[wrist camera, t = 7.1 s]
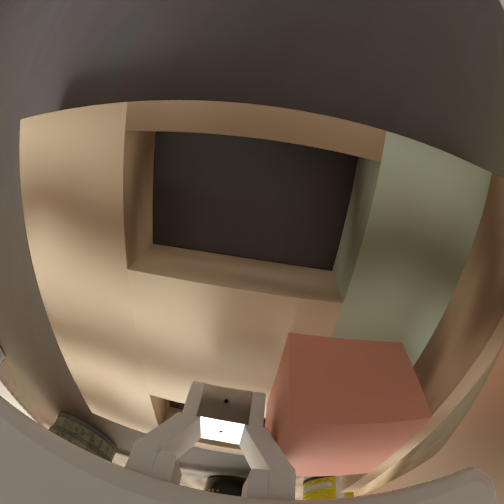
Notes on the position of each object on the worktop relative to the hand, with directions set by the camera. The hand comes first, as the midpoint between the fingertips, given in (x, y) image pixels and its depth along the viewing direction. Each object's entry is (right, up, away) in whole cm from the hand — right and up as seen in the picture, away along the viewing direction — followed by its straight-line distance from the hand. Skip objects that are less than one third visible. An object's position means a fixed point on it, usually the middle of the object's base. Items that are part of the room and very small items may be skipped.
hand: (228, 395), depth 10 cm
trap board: (0, +2, +4) cm, 4 cm away
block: (+4, 0, +1) cm, 5 cm away
